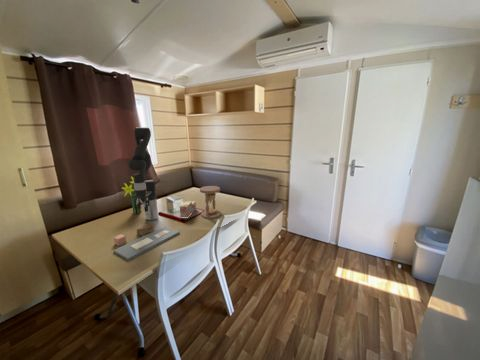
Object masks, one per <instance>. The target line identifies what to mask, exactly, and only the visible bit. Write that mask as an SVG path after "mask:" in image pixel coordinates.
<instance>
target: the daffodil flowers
mask: <svg viewBox="0 0 480 360" xmlns="http://www.w3.org/2000/svg"><path fill="white" fill-rule="evenodd" d="M130 178H131V180H132V181H129V183H130V185H129V186H128V184H127V183H126V182H123V184H124V186H125V187H121V189H122V190H124V192H125V194H124V195H123V196H124V197H126V196H127V194H128V195H129V198H130V202H131V205H132V213H133V216H134V215H136V214H140V213H142V208H141V209H138V208H137V204H136V203H135V200H134V195H135V190H134V179H133V176H132V175H131V176H130ZM136 201H137V200H136Z"/></svg>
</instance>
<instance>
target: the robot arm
mask: <svg viewBox="0 0 480 360" xmlns="http://www.w3.org/2000/svg"><path fill="white" fill-rule="evenodd" d="M133 134H134V140H135V144H136V145H135V148H134V151H133V155H132V156H131V158H130V160H129V162H128V168H129V170H130V171H139V172H138V173H135V174H133V176H132V177H133V179H134V184H133V186H134V189H133V190H135V195H133V196H134V200H135V203H136V204H137V208H138V209H141V210H142V205H143V206H144V208H143V209H144V212H145V219H146V220H147V221H154V220H157V219H159V211H158V201H157V193H156V181H155V180H154V179H149V180H146V175H147V173H148V171H149V170H150V169H151V167H152V159H151V158H152V157H151V155H150V153H149V152H148V151H147V148H148V145H149V144H150V141H151V137H152V132H151V129H150V127H145V126H142V127H141V126H140V127H139V126H136V127H135V128H134V130H133ZM148 192H149V193H148ZM136 200H137V201H136ZM141 204H142V205H141Z"/></svg>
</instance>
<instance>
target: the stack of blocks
mask: <svg viewBox="0 0 480 360" xmlns="http://www.w3.org/2000/svg"><path fill="white" fill-rule="evenodd" d="M195 209H196V210H197V204H196V201H193V200H190V201H184V202H183V203H181V204H180V205H179V213H180V218H181V217H188V216H189V215H190V214H191V213H192V212H193V211H194V210H195ZM196 210H195V211H196ZM195 211H194V212H195ZM194 212H193V213H194Z"/></svg>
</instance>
